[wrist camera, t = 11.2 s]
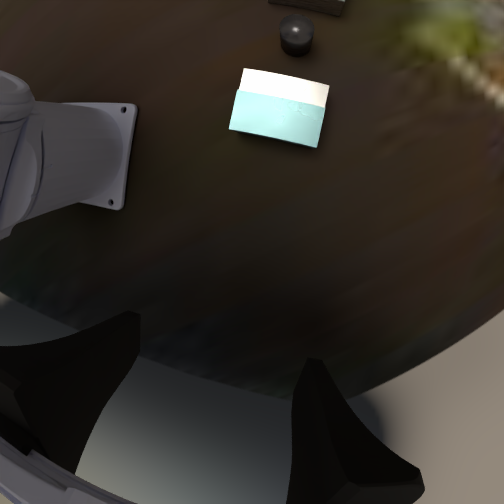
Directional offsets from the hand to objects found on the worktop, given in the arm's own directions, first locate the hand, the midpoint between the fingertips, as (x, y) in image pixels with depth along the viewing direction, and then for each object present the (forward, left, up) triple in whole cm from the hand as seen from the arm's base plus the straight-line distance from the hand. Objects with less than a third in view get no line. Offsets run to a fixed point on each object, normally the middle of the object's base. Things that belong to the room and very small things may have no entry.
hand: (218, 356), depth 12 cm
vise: (0, +16, -10) cm, 19 cm away
